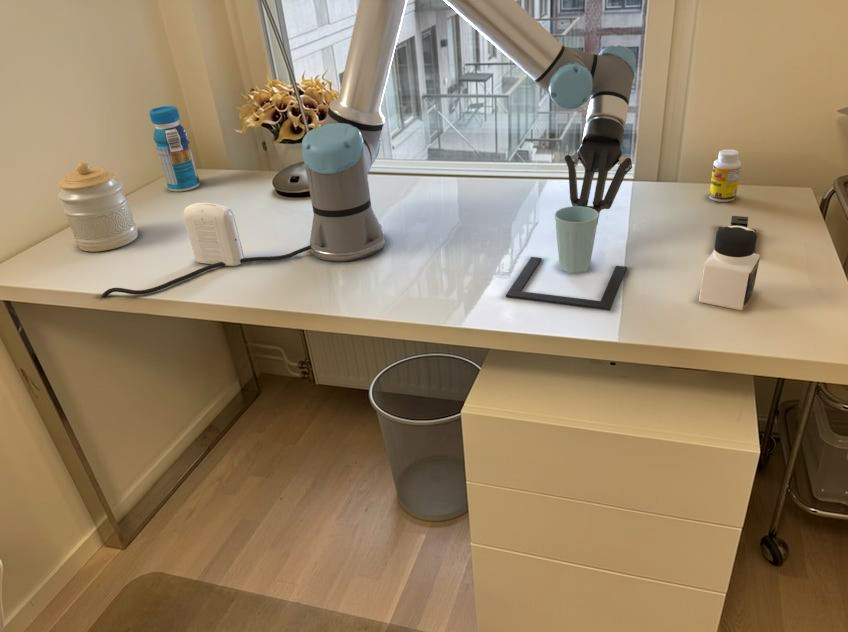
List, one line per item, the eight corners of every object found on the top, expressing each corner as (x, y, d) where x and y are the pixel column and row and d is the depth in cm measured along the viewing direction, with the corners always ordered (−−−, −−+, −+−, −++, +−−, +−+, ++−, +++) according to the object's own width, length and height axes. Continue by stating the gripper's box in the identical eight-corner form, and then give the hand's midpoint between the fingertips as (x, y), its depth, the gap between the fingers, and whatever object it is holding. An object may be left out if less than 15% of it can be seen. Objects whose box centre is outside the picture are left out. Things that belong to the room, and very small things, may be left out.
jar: (149, 237, 156) (124, 159, 146) (92, 258, 148) (62, 176, 139) (123, 225, 164) (98, 149, 154) (68, 243, 156) (37, 165, 146)
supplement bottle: (703, 195, 155) (710, 149, 149) (727, 192, 156) (734, 146, 150) (716, 204, 150) (723, 157, 145) (740, 201, 151) (748, 154, 145)
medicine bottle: (743, 311, 112) (756, 242, 106) (698, 302, 116) (708, 234, 109) (753, 292, 117) (766, 225, 111) (709, 284, 120) (719, 218, 114)
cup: (596, 258, 132) (599, 206, 126) (595, 277, 126) (597, 222, 120) (556, 257, 134) (557, 205, 128) (552, 275, 127) (553, 221, 122)
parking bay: (531, 259, 134) (531, 256, 133) (626, 269, 127) (627, 266, 127) (505, 297, 121) (505, 294, 121) (609, 310, 115) (610, 308, 115)
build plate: (755, 257, 128) (759, 234, 126) (713, 254, 131) (716, 231, 128) (756, 231, 138) (760, 208, 135) (716, 228, 140) (720, 206, 137)
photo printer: (248, 258, 143) (234, 200, 136) (237, 268, 139) (221, 208, 132) (205, 255, 145) (189, 198, 139) (193, 264, 142) (176, 206, 135)
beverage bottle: (162, 192, 182) (138, 113, 171) (177, 181, 188) (155, 105, 178) (192, 192, 180) (170, 112, 169) (206, 181, 187) (186, 104, 176)
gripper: (640, 137, 136) (620, 251, 132) (573, 135, 140) (552, 245, 137) (638, 116, 129) (616, 236, 125) (568, 115, 133) (545, 230, 130)
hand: (583, 241), depth 131 cm, fingers closed
